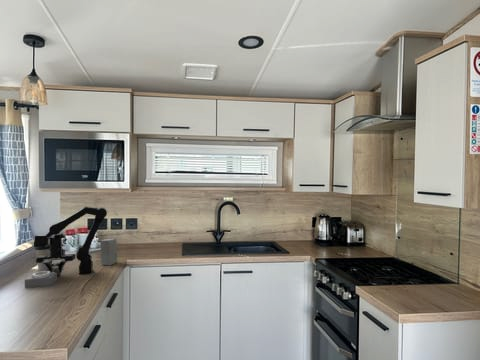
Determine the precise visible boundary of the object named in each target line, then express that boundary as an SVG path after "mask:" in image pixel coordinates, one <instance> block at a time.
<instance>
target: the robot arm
mask: <svg viewBox="0 0 480 360" xmlns="http://www.w3.org/2000/svg"><path fill="white" fill-rule="evenodd" d="M107 214H108V212H107V208H105V207H99V208H97V207H91V206H90V207H89V206H84V207H83V208H81V209H79V210H78V211H76V212H75V213H73V214H72V215H69V216H68V217H66V218H65V219H63V220H60V221H57V222H54V223H52V225H51V226H50V227H49V230H48V232H47V233H46V234H40V235H39V234H37V235H36V234H35V235H34V240H33V248H34V249H35V248H38V247H46V246H47V245H49V244H50V249H49V251H50V256H49V257H48V256H47V255H43V256H39V257H37V258H35V263H36V264H38V263H42V262H43V261H44V263H43V264H45V265H46V266H47V268H48V269H49V270H48V271H50V272H51V273H52V268H51V266H52V264H53V261H58V260H59V263H60V273H61V274H62V272H63V269H64V266H65V264H67V262H72V261H74V260H76V259H77V260H78V261H79V265H78V274H79V275H87V274H92V273H94V270H95V269H94V268H93V265H94V264H93V262H94V261H93V259H92V258H93V256H92V255H91V254H90V253H89V252H90V248H91V245H92V242H93V241H94V239H95V237H96V235H97V232H98V231H99V227H100V225H101V223H102V222H104V219H105V218H106V216H107ZM86 215H90V216H91V215H92V216H94V219H93V223H92V225H91V228H90V229H89V232H88V234H87V236H86V238H85V241H84V242H83V244H82V245H81V244H80V245H79V246H78V249H77V251H76V252H75V253H76V255H75V254H74V253H72V254H71V253H68V254H66V249H63V246H62V245H63V244H62V242H63V241H62V239H64V238H66V235H65V234H64V233H63V232H62V231H63V230H65V229H66V228H67V227H68V226H69V225H71V224H72V223H74V222H75V221H77V220H79V219H80V218H82V217H84V216H86Z"/></svg>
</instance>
